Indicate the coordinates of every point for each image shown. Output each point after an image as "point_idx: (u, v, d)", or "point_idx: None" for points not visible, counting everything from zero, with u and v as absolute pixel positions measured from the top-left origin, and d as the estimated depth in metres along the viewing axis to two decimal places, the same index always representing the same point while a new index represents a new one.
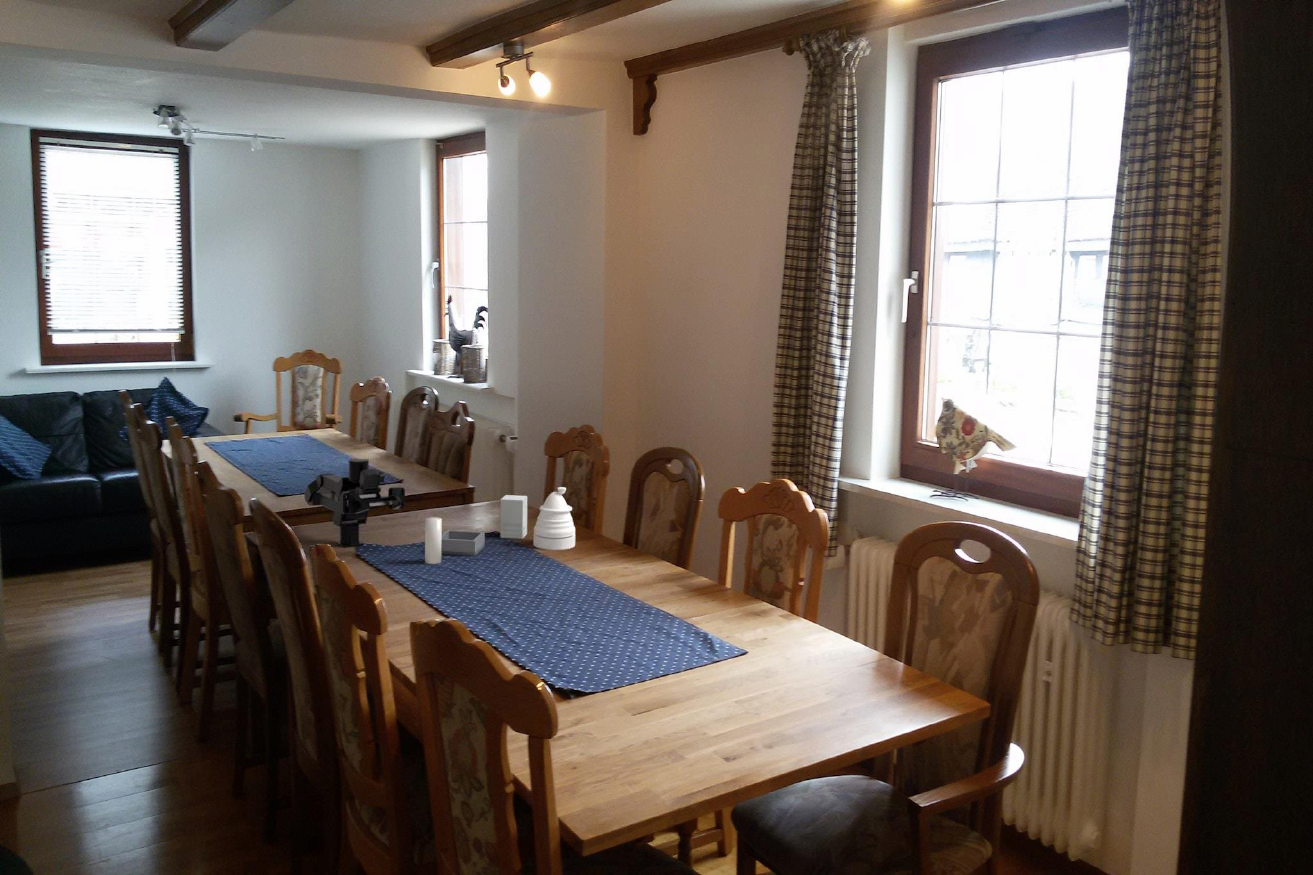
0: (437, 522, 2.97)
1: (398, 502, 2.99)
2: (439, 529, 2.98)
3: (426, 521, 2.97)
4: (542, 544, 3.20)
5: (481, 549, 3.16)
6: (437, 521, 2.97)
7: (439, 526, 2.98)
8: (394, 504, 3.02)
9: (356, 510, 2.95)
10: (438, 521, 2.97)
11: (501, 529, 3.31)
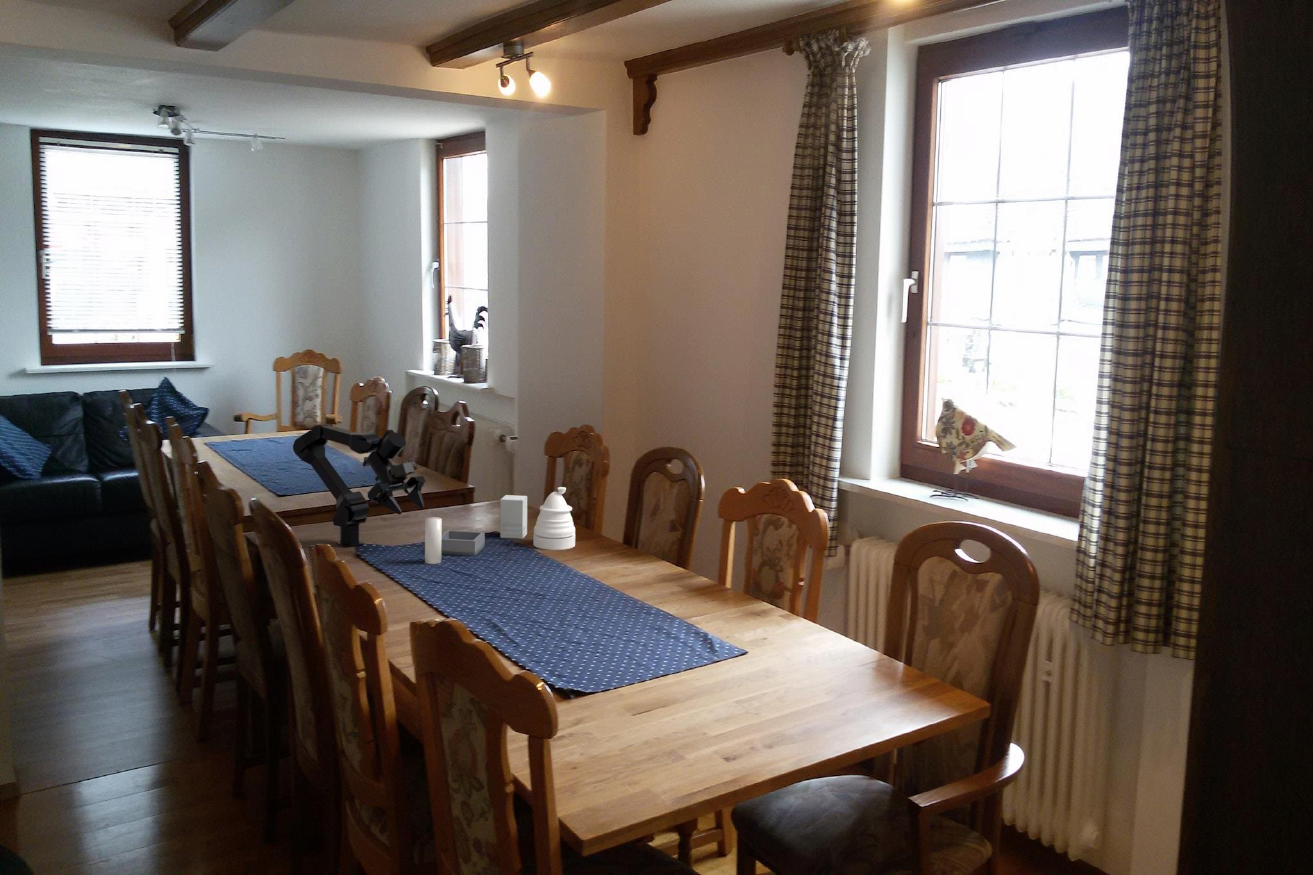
0: (437, 522, 2.97)
1: (421, 505, 3.06)
2: (439, 529, 2.98)
3: (426, 521, 2.97)
4: (542, 544, 3.20)
5: (481, 549, 3.16)
6: (437, 521, 2.97)
7: (439, 526, 2.98)
8: (413, 498, 3.08)
9: (383, 504, 2.99)
10: (438, 521, 2.97)
11: (501, 529, 3.31)
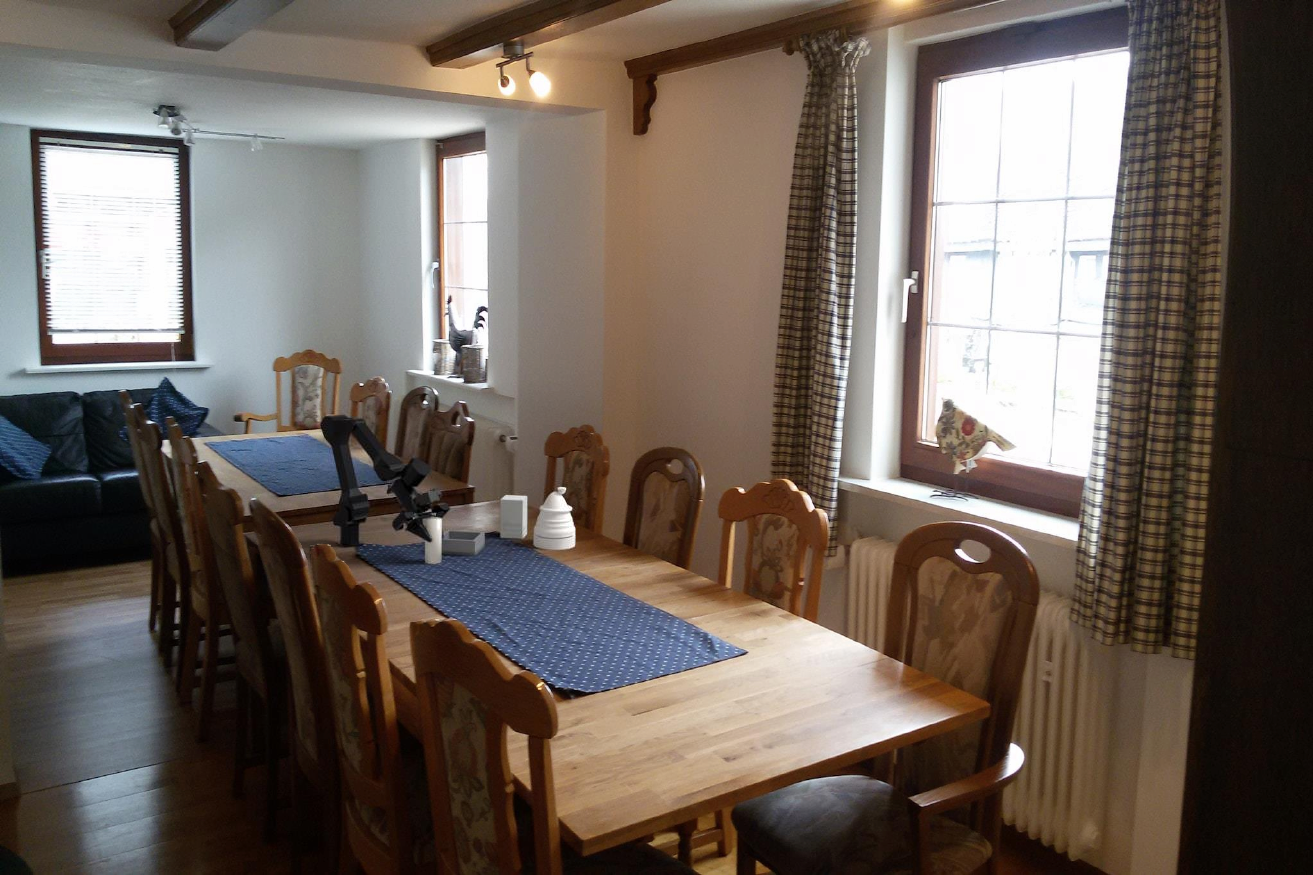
0: (437, 522, 2.97)
1: None
2: (439, 529, 2.98)
3: (426, 521, 2.97)
4: (542, 544, 3.20)
5: (481, 549, 3.16)
6: (437, 521, 2.97)
7: (439, 526, 2.98)
8: None
9: (414, 532, 2.97)
10: (438, 521, 2.97)
11: (501, 529, 3.31)
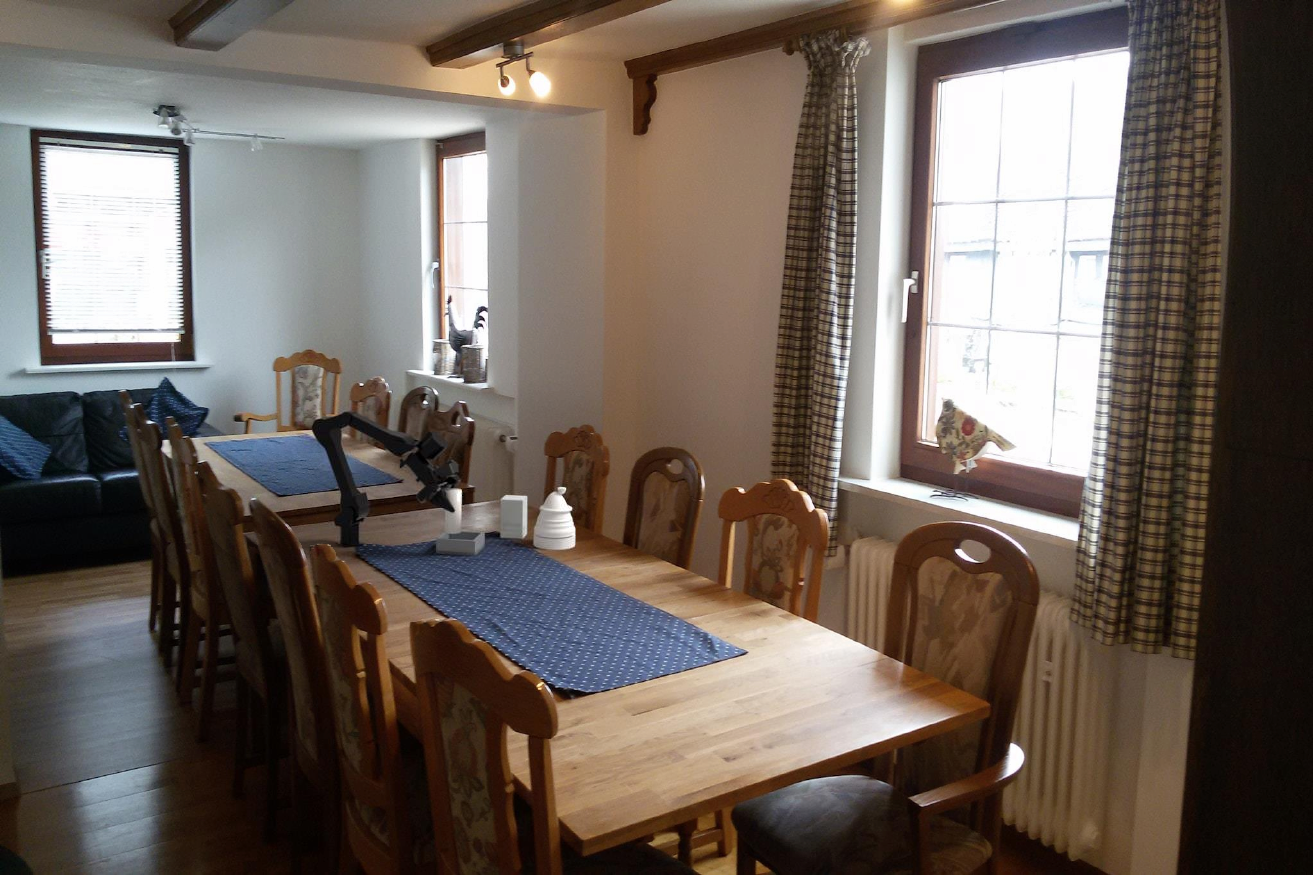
0: (459, 492, 3.05)
1: None
2: (460, 499, 3.06)
3: (448, 492, 3.04)
4: (542, 544, 3.20)
5: (481, 549, 3.16)
6: (459, 492, 3.05)
7: (460, 496, 3.06)
8: None
9: (436, 503, 3.04)
10: (460, 491, 3.05)
11: (501, 529, 3.31)
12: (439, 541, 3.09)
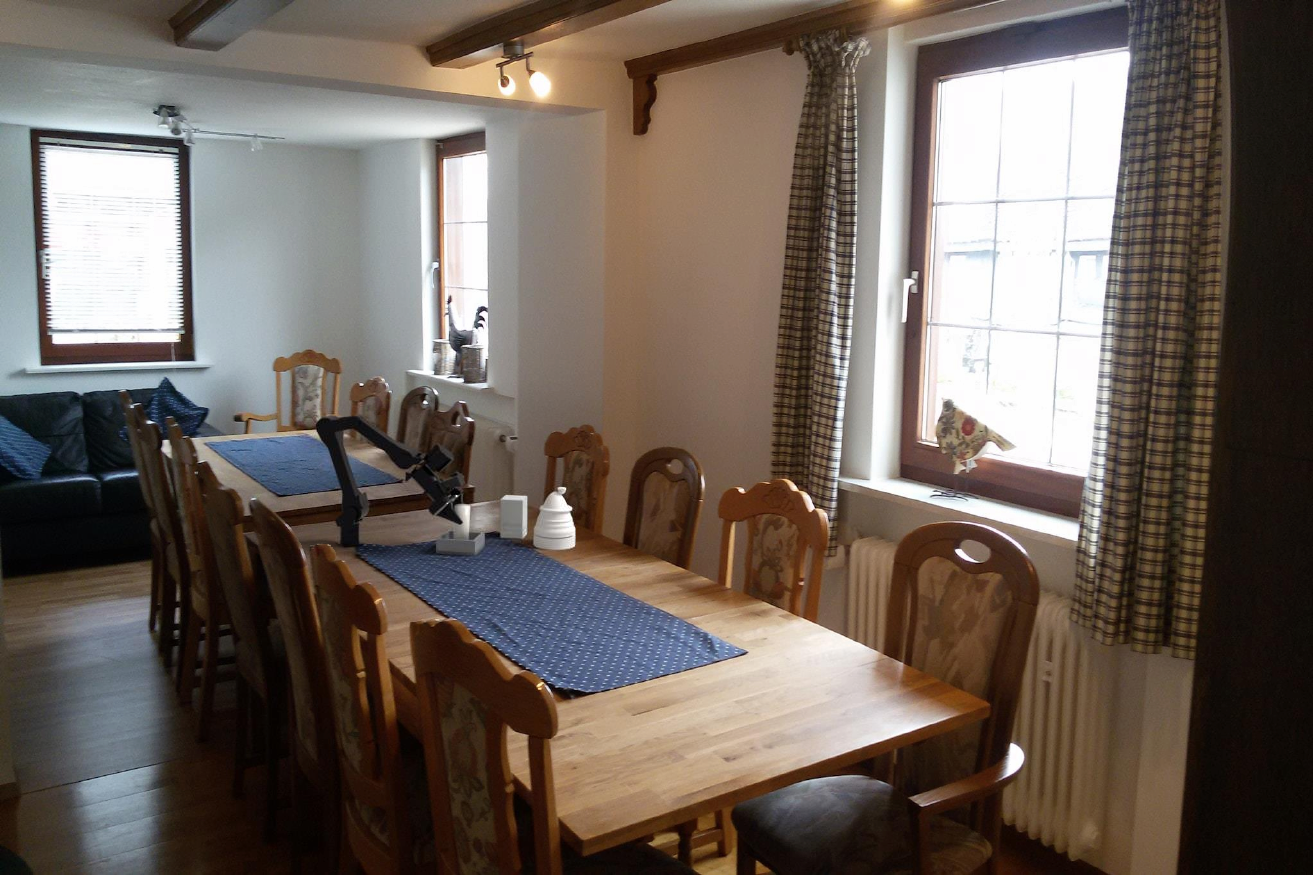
0: (469, 508, 3.12)
1: None
2: (469, 515, 3.13)
3: (458, 508, 3.10)
4: (542, 544, 3.20)
5: (481, 549, 3.16)
6: (468, 508, 3.12)
7: (469, 512, 3.13)
8: None
9: (444, 516, 3.07)
10: (469, 508, 3.12)
11: (501, 529, 3.31)
12: (439, 541, 3.09)
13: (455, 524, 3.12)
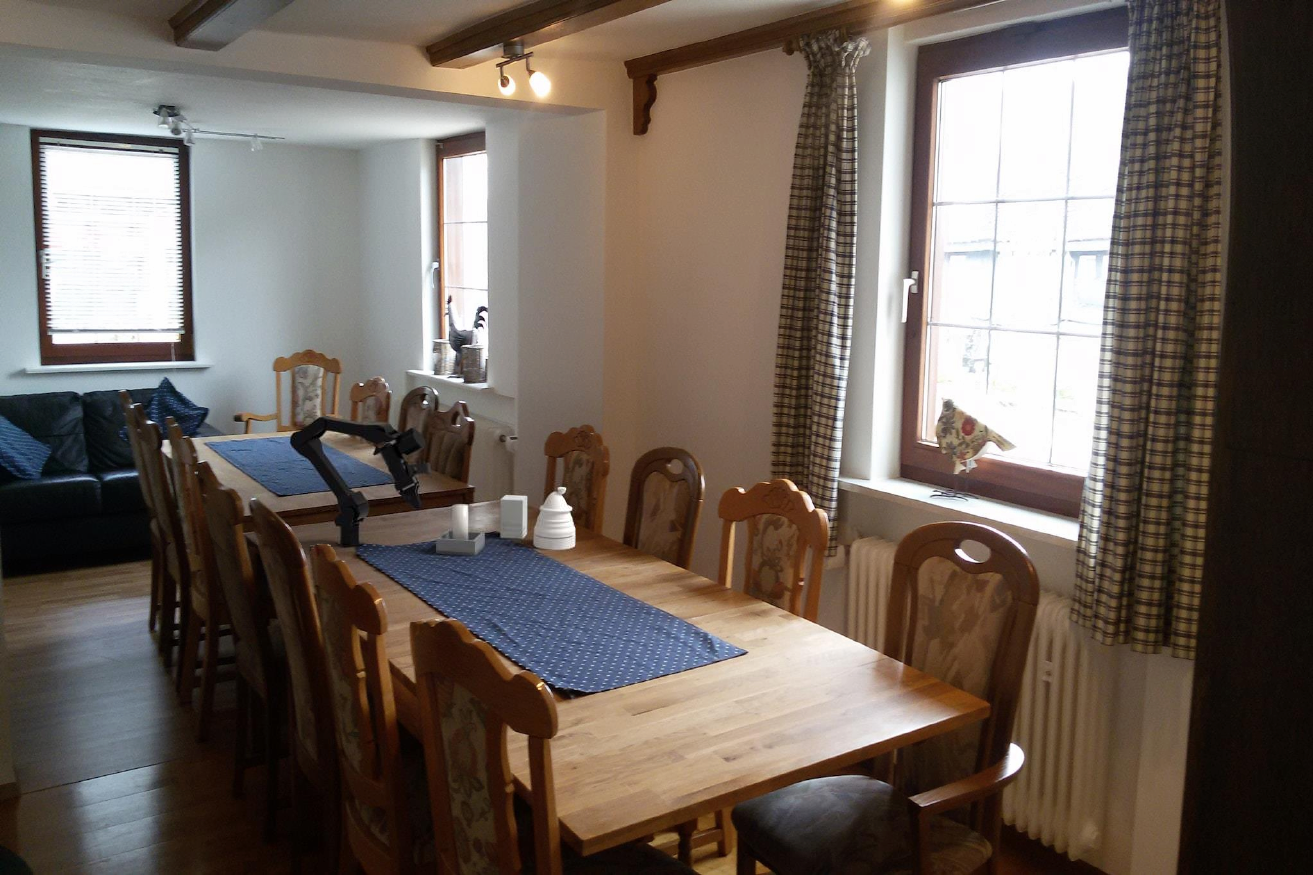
0: (467, 508, 3.12)
1: (419, 506, 3.15)
2: (467, 514, 3.13)
3: (456, 508, 3.11)
4: (542, 544, 3.20)
5: (481, 549, 3.16)
6: (466, 507, 3.12)
7: (467, 511, 3.13)
8: None
9: (405, 496, 3.04)
10: (467, 507, 3.12)
11: (501, 529, 3.31)
12: (439, 541, 3.09)
13: (454, 524, 3.12)
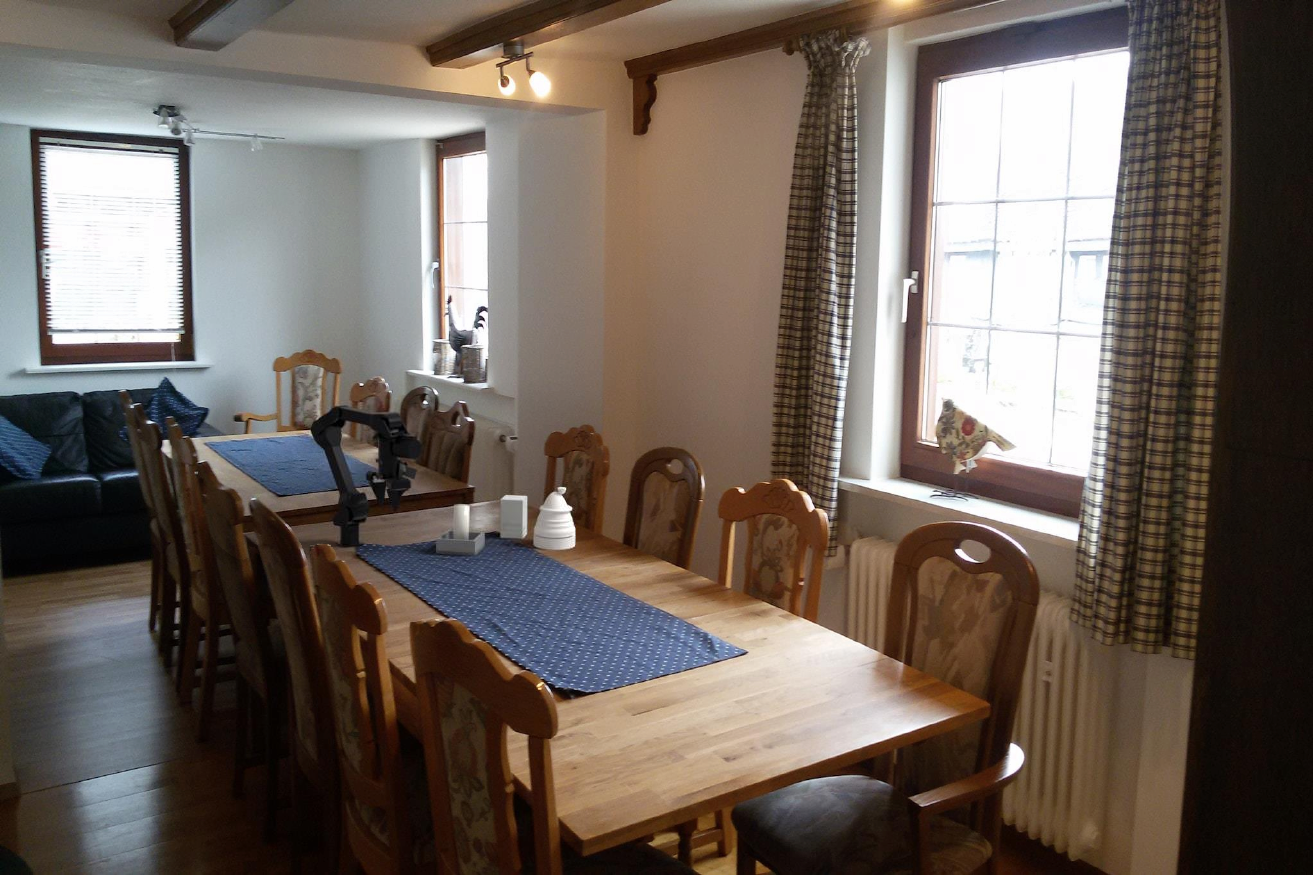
0: (468, 508, 3.12)
1: (382, 502, 3.11)
2: None
3: (457, 508, 3.11)
4: (542, 544, 3.20)
5: (481, 549, 3.16)
6: (468, 507, 3.12)
7: None
8: (378, 490, 3.10)
9: (391, 495, 3.01)
10: (468, 507, 3.12)
11: (501, 529, 3.31)
12: (439, 541, 3.09)
13: (455, 524, 3.12)
